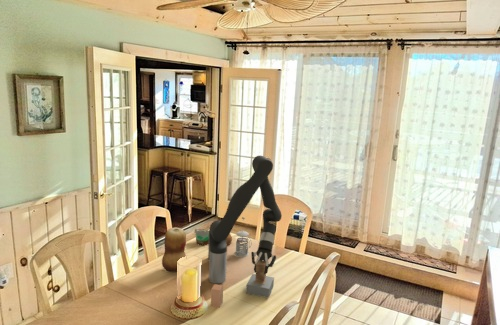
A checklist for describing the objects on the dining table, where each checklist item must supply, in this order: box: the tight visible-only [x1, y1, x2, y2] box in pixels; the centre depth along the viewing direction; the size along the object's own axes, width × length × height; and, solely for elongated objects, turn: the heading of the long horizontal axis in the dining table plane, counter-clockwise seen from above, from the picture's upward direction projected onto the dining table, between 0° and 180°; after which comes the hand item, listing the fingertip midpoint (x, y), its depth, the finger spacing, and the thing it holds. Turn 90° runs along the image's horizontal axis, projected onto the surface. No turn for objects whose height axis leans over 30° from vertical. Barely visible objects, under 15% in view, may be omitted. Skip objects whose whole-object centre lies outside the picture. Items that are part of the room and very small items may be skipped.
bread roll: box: [226, 233, 233, 245], centre depth 246 cm, size 10×15×8 cm, turn 35°
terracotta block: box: [210, 283, 224, 308], centre depth 173 cm, size 4×4×9 cm
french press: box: [233, 216, 252, 258], centre depth 226 cm, size 10×12×25 cm
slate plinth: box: [245, 273, 275, 298], centre depth 188 cm, size 12×12×5 cm
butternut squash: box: [161, 227, 187, 273], centre depth 202 cm, size 14×13×25 cm
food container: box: [193, 227, 209, 246], centre depth 240 cm, size 12×6×10 cm, turn 81°
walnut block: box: [255, 260, 267, 281], centre depth 186 cm, size 4×4×9 cm
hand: (260, 272), depth 184 cm, fingers closed on walnut block, 4 cm apart
